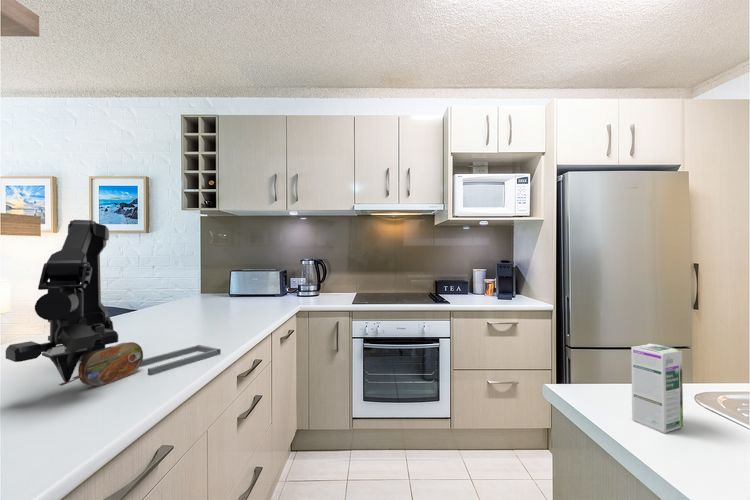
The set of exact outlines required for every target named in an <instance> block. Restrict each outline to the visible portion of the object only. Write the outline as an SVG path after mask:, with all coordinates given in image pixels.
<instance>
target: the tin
mask: <svg viewBox="0 0 750 500" xmlns="http://www.w3.org/2000/svg"><path fill="white" fill-rule="evenodd" d="M143 351H144V350H143V349H142V347H141V346H140V345H139V344H138V343H136V342H133V341H132V342H130V341H129V342H121V343H118V344H117V343H116V344H114V345H112V346H111V345H110V346H108V347H105V348H103V349H100V350H96V351H93V352H90V353H89V354H87V355H86V356H85V357H84V358H83V359H82V361H79V362H80V363H79V364H78V369H77V370H78V371H77V372H78V373H77V374H78V375H79V378H78V379H79V381H80V382H81V383H83V384H85V385H87V386H91V387H102V386H105V385H106V384H110V383H113V382H115V381H118V380H121V379H123V378H126V377H128V376H132V375H133V374H135V372H137V371H138V370H139V368H140V365H141V363H142V360H143V359H144V352H143Z"/></svg>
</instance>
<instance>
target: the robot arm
mask: <svg viewBox="0 0 750 500" xmlns="http://www.w3.org/2000/svg"><path fill="white" fill-rule="evenodd" d="M109 238H110V231H109V228H108V226H106V225H104V224H102V223H97V222H96V221H94V220H92V219H91V220H89V219H73V220H70V221H69V223H68V224H67V235H66V238H65V239H64V243H63V245H62V246H61V249H60V250H58V251H56V252H54V253H52V254H51V255H50V256H49V258H48V260H47V261H46V262H45V263H44V264H43V267H42V269H41V270H42V271H41V274H40V279H39V282H38V285H37V287H38V288H37V289H38V290H39V291H42V290H43V291H45V290H47V293H45V294H43V295H41V296H40V297H39V298H38V299H37V301H36V302H35V304H34V311H35V313H36V315H37V316H38V317H39V318H41V319H42V320H46V321H47V323H49V335H47V341H48V342H43V343H39V342H35V341H31V340H30V341H24V342H18V343H12V344H9V345H8V346H7V347H6V349H5V359H6V360H9V361H11V362H14V363H19V362H25V361H31V360H34V359H38V357H39V356H42V357H45V358H48V359H50V360H51V362H52V363H53V365H54V366H55V368H56V370H57V371H58V374H59V375H60V377H61V379H62V382H69V381H71V380H72V376H73V374H74V372H75V369H76V367H77V365H78V363H79V362H81V361H82V359H83V358H84V357H85V356H86V355H87V354H89V353H90V352H93V351H96V350H100V349H103V348H106V345H110V344H115V343H116V344H117V343H118V342H119V333H118V332H117V331H116V330H114V329H115V328H114V322H113V321H112V319H111V317H110V316H109V312H108V309H107V307H106V306H104V304H103V303H102V298H101V296H102V294H101V292H102V291H101V289H102V288H101V283H102V282H101V253H103V250H104V249H105V248H106V246H107V241H109ZM69 383H70V382H69Z"/></svg>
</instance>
